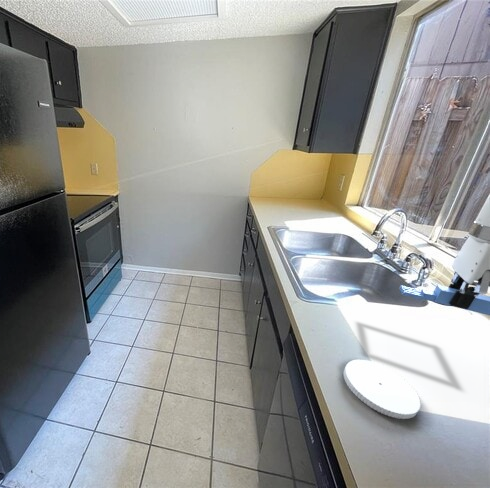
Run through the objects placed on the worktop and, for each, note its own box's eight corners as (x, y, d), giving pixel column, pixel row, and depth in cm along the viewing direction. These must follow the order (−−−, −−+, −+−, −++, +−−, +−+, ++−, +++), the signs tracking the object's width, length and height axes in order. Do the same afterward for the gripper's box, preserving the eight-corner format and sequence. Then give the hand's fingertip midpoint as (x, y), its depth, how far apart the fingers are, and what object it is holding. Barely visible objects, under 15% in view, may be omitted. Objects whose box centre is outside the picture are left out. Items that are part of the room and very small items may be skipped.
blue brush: (484, 308, 63) (492, 296, 61) (492, 316, 60) (500, 304, 58) (399, 288, 70) (404, 277, 68) (402, 295, 67) (408, 283, 66)
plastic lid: (402, 379, 64) (406, 372, 63) (427, 434, 52) (433, 426, 51) (338, 359, 69) (341, 352, 68) (347, 404, 58) (351, 397, 57)
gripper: (547, 251, 48) (494, 328, 56) (499, 226, 61) (461, 291, 69) (490, 243, 51) (447, 316, 59) (456, 221, 64) (424, 283, 72)
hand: (455, 302), depth 64 cm, fingers closed on blue brush, 2 cm apart
